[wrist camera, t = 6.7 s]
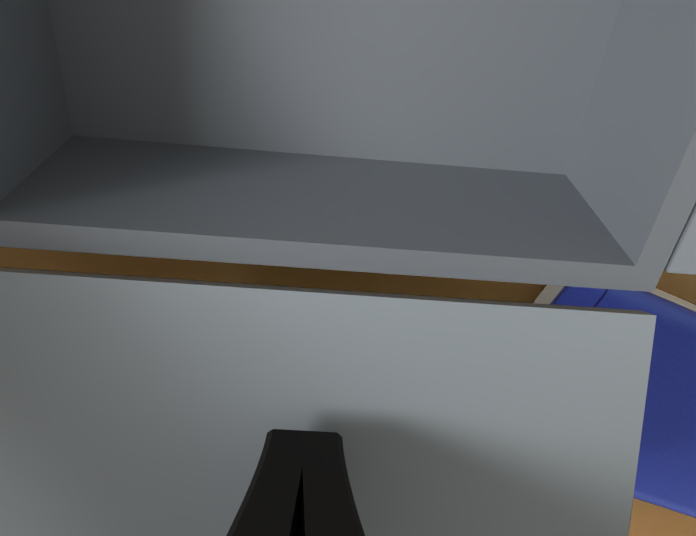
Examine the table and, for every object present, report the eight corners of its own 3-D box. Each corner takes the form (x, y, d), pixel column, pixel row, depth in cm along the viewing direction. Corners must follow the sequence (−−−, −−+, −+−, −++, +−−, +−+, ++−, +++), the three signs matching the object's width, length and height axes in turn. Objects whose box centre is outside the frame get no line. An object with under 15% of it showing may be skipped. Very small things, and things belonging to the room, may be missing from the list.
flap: (-51, 268, 11) (-31, 265, 12) (-54, 690, 12) (-35, 667, 12) (656, 315, 12) (640, 310, 12) (605, 710, 13) (593, 688, 13)
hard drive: (882, 396, 19) (583, 269, 17) (706, 526, 23) (442, 442, 21) (849, 364, 21) (566, 241, 18) (687, 492, 25) (436, 409, 22)
